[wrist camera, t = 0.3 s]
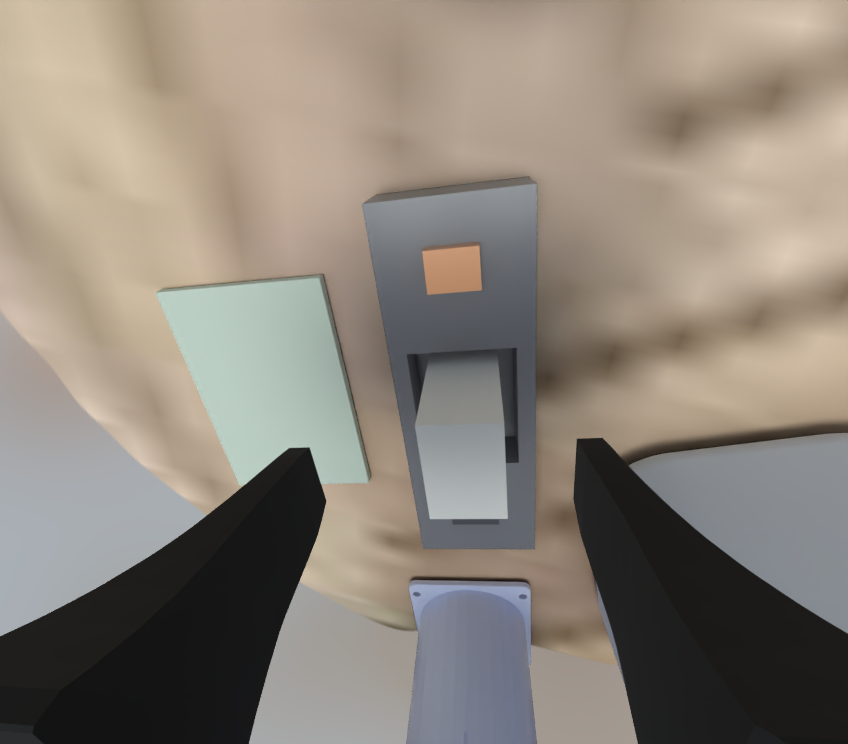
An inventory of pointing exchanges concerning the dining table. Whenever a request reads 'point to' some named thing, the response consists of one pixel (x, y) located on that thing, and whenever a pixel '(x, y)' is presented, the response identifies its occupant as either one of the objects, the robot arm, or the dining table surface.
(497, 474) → the white rectangular block
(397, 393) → the grey slotted plate
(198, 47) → the dining table surface
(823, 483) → the plastic bottle
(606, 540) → the robot arm
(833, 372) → the dining table surface
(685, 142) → the dining table surface
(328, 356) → the rubber mat
